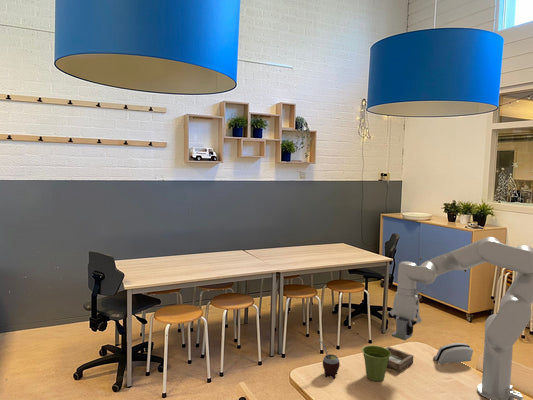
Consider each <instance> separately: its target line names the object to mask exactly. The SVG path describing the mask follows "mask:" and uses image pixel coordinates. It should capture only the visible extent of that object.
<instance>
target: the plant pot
mask: <svg viewBox="0 0 533 400" xmlns="http://www.w3.org/2000/svg"><path fill="white" fill-rule="evenodd" d="M386 348H387V347H384V346H383V347H382V346H380V345H365V346H363V347H362V349H361V352H362V354H363V355H362V356H363V359H364V365H365V367H364V368H365V374H366V377H367V378H368V379H369V380H370V381H373V382H380V381H381V382H382V381H384V379H385V376H386V371H387V369H388V368H387V363H388V360H389V357H390V356H391V352H390V351H389V350H388V349H386Z"/></svg>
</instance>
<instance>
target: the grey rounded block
mask: <svg viewBox="0 0 533 400" xmlns="http://www.w3.org/2000/svg"><path fill="white" fill-rule="evenodd" d="M473 353H474V350H473V348H472V347H470V345H469V344H468V343H465V342H464V343H463V342H454V343H448V344H445V345H442V346H440V347H439V349H438V350H437V353H436V355H434V356H433V358H432V360H433V359H435V361H437V364H438V363H439V365H445V363H447V364H455V363H464V362H471V361H472V357H473Z"/></svg>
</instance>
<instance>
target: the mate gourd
mask: <svg viewBox="0 0 533 400" xmlns="http://www.w3.org/2000/svg"><path fill="white" fill-rule="evenodd" d="M317 340H318V341H319V343H321V344H322V347H323V348H324V350H325V353H326V355H325V356H324V357H323V359H322V367H323V371H324V377H325V378H328V377H331V376H332V377H331V378H333V379H334V380H335V378H336V379H337V377H336V376H337V374H338V371H339V369H340V366H341V365H340V359H339V357H338V356H337V355H335V354H332V353H329V354H328V351H327V348H326V345H325V344H324V342H322V341H321V340H320V339H317ZM327 376H328V377H327Z"/></svg>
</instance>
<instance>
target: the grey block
mask: <svg viewBox="0 0 533 400" xmlns="http://www.w3.org/2000/svg"><path fill="white" fill-rule="evenodd" d="M396 324H397V328H396V331H394V332H392V333H391V337H393V338H396V339H398V340H402V341H407V340H408V339H409V338H412V337H413V333H412V334H411V335H407V334H408V326H409V321H408V319H406V318H403V317H400V318H399V319H397V322H396Z"/></svg>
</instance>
